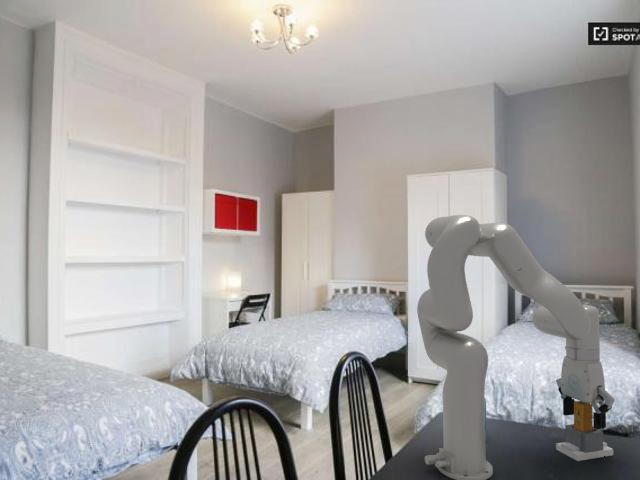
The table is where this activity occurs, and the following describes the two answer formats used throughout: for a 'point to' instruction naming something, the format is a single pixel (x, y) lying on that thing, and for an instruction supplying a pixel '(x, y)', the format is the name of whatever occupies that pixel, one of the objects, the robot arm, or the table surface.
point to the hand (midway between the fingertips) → (583, 421)
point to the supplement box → (583, 416)
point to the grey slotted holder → (584, 444)
